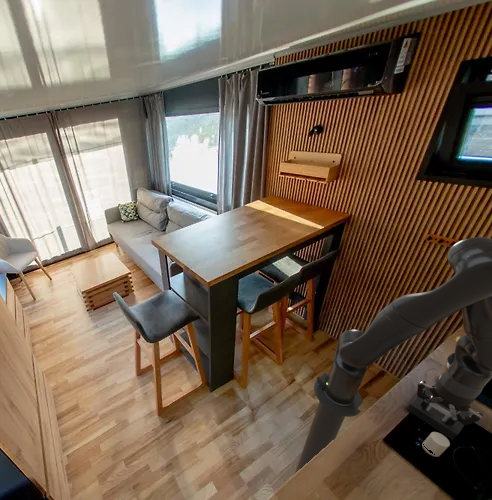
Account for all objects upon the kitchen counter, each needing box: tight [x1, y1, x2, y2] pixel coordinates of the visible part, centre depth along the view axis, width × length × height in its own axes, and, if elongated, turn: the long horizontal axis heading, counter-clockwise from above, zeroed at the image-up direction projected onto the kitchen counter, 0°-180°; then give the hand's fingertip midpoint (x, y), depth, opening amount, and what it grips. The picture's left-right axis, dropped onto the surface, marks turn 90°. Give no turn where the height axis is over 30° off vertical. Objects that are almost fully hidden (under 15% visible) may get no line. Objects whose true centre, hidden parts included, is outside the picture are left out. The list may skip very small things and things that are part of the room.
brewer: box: [406, 405, 457, 441], centre depth 88 cm, size 10×11×4 cm
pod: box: [421, 431, 451, 458], centre depth 80 cm, size 4×4×7 cm
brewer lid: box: [409, 389, 468, 437], centre depth 85 cm, size 11×11×5 cm
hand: (435, 414), depth 85 cm, fingers closed on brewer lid, 5 cm apart
